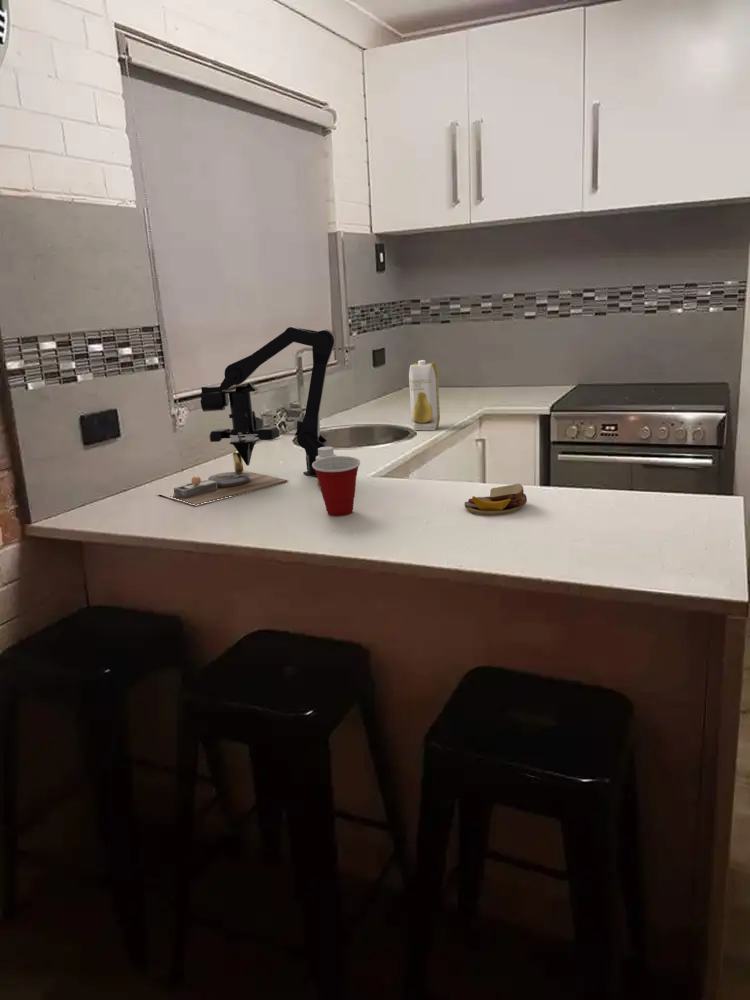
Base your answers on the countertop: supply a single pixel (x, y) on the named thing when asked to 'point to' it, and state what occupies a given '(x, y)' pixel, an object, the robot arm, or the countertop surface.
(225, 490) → the wooden base board
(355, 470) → the plastic cup
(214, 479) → the wheel
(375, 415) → the countertop surface
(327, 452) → the supplement bottle
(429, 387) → the juice carton
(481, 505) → the toy sandwich meal
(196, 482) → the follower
